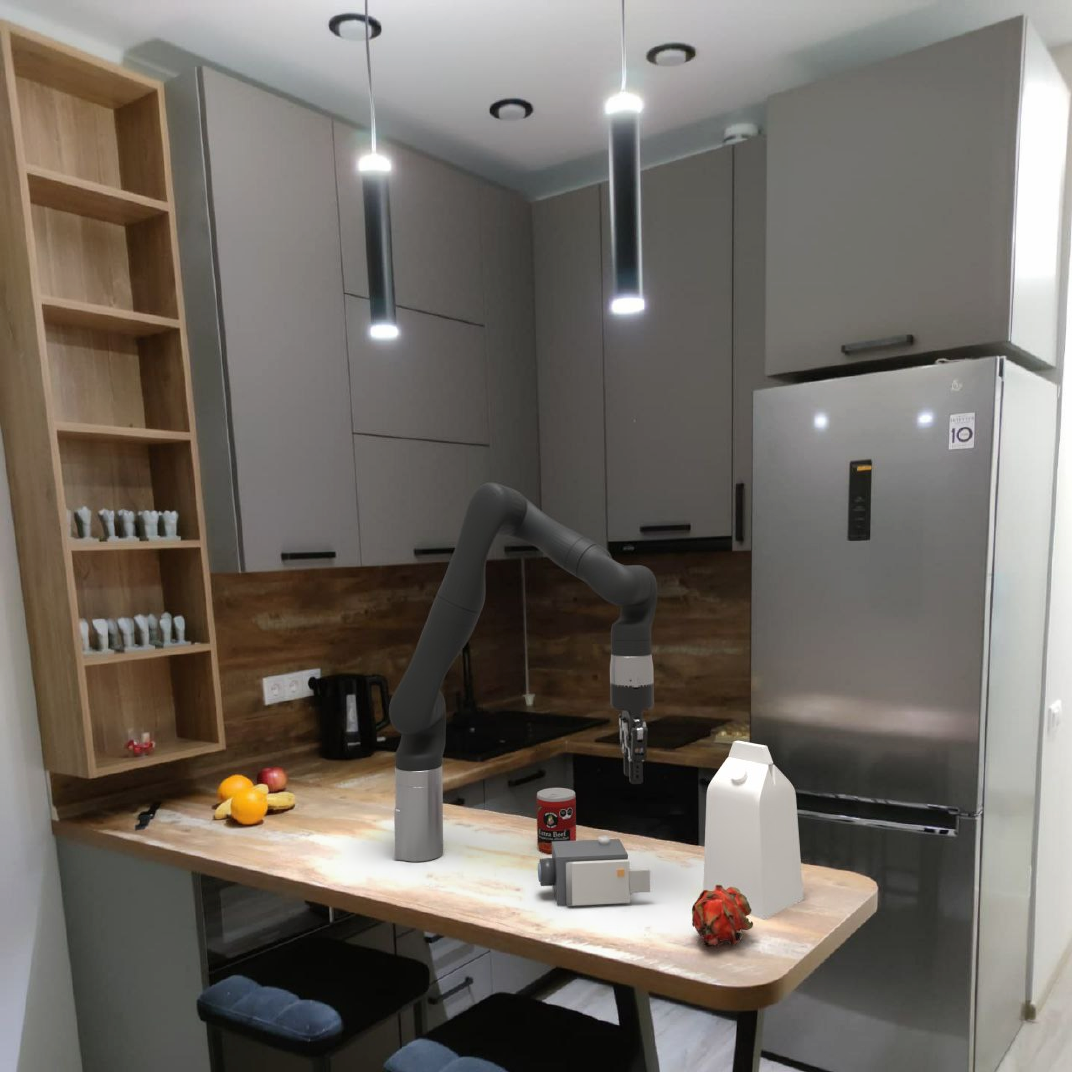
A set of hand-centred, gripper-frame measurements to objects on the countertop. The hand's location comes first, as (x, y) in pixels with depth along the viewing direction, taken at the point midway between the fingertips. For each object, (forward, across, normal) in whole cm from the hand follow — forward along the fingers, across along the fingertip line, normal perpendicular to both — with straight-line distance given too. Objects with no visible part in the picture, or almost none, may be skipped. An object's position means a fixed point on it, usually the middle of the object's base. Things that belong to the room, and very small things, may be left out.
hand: (633, 779), depth 151 cm
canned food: (+20, -24, -11) cm, 33 cm away
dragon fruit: (+20, +20, +9) cm, 30 cm away
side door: (+19, +5, -6) cm, 20 cm away
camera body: (+19, +1, -9) cm, 21 cm away
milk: (+20, +6, +19) cm, 28 cm away
